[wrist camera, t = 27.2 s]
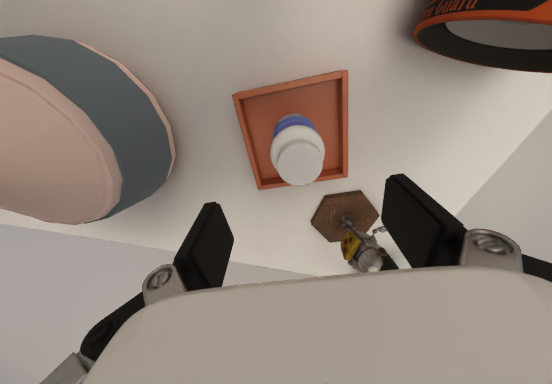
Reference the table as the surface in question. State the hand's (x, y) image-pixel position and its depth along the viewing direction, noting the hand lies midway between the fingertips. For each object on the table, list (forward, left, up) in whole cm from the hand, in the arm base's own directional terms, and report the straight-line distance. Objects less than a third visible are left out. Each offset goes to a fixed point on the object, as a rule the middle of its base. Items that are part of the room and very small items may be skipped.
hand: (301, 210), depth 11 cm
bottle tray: (0, 0, -17) cm, 17 cm away
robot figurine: (+6, -15, -17) cm, 24 cm away
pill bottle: (0, 0, -16) cm, 16 cm away
